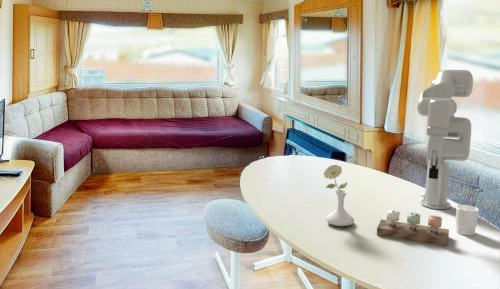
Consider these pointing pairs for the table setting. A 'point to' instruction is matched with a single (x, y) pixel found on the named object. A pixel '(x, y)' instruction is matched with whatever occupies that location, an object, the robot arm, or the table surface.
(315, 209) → the table surface
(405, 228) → the button board
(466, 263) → the table surface
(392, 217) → the plunger
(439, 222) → the plunger
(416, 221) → the plunger
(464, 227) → the white cup
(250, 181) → the table surface
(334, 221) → the flower in vase
